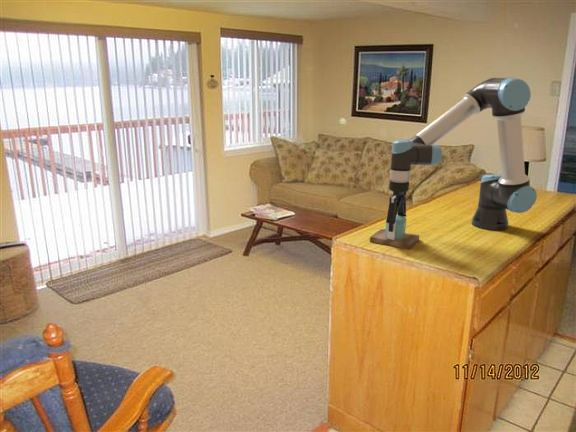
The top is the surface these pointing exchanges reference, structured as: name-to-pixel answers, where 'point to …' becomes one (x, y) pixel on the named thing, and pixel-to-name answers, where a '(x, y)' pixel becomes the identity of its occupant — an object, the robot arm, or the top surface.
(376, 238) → the stud base
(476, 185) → the top surface
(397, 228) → the cap
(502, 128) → the robot arm
